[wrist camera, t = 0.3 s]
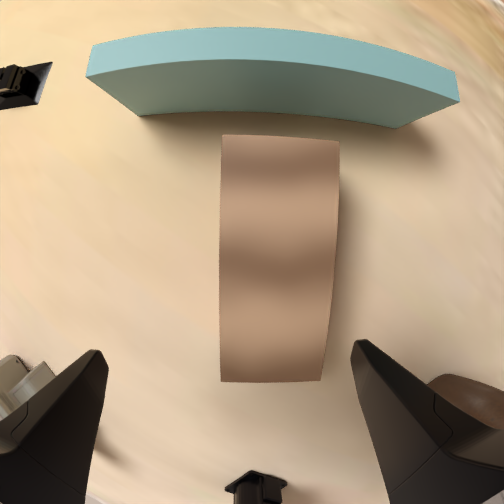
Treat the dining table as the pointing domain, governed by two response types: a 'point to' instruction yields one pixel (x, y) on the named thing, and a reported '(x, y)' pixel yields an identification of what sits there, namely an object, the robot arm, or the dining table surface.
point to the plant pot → (472, 398)
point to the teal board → (270, 75)
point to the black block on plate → (22, 85)
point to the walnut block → (276, 256)
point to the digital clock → (19, 383)
